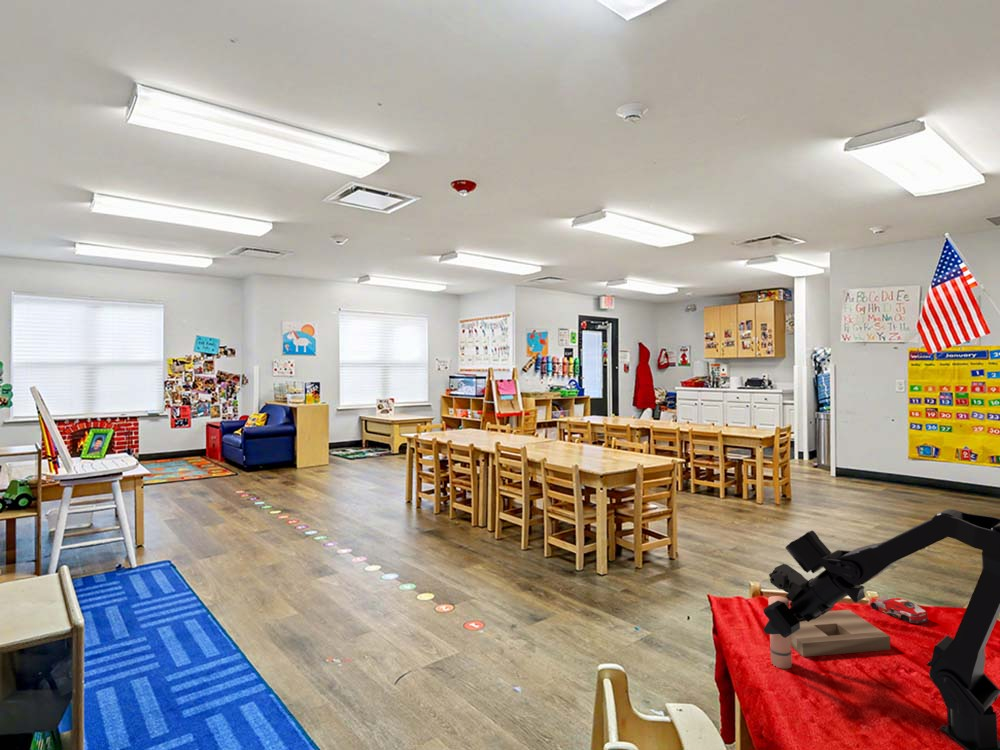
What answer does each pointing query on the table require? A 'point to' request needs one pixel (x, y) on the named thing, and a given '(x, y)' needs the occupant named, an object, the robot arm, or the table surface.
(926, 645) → the table surface
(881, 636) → the board
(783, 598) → the peg
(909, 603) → the race car
